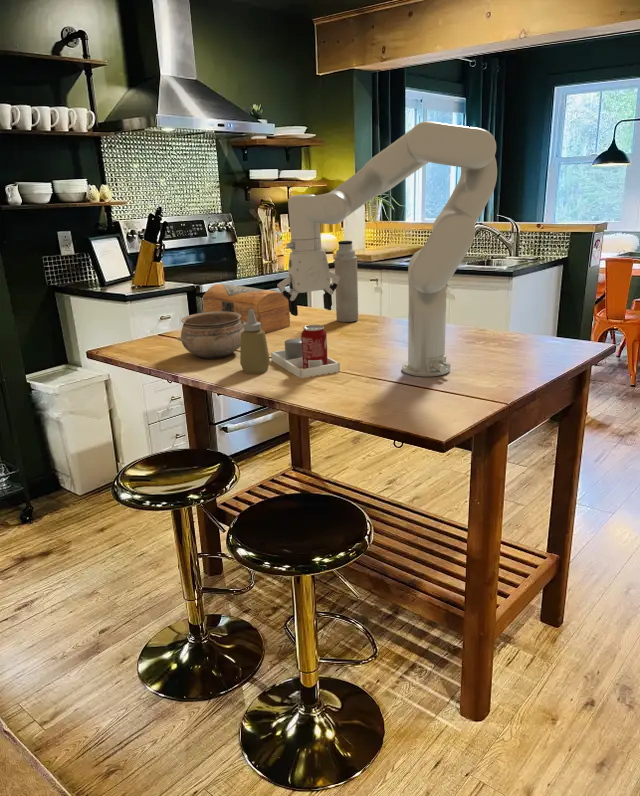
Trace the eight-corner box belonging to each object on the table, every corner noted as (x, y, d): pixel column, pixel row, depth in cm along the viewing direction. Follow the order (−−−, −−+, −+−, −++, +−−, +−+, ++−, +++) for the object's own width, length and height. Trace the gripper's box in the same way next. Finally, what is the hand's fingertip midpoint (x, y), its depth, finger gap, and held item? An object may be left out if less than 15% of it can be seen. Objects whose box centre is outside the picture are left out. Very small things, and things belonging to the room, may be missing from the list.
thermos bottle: (345, 315, 237) (343, 239, 227) (362, 318, 232) (361, 240, 222) (332, 320, 231) (329, 241, 221) (349, 322, 226) (346, 242, 216)
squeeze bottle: (274, 370, 176) (269, 306, 170) (266, 379, 169) (261, 313, 163) (246, 369, 178) (241, 306, 172) (237, 378, 171) (231, 313, 164)
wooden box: (201, 325, 233) (197, 287, 228) (235, 316, 244) (232, 280, 239) (256, 337, 213) (253, 296, 209) (291, 327, 225) (288, 288, 220)
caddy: (340, 375, 170) (339, 350, 167) (300, 383, 165) (299, 357, 163) (308, 357, 187) (307, 334, 185) (271, 363, 183) (270, 340, 180)
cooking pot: (226, 343, 206) (222, 306, 202) (266, 352, 194) (263, 313, 190) (162, 362, 188) (157, 322, 184) (202, 373, 177) (197, 330, 172)
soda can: (324, 374, 168) (323, 330, 164) (300, 373, 169) (297, 330, 165) (330, 367, 174) (328, 324, 170) (306, 366, 175) (304, 324, 171)
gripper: (280, 250, 154) (286, 319, 159) (343, 243, 160) (347, 309, 166) (269, 248, 160) (275, 314, 166) (330, 241, 167) (334, 305, 172)
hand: (311, 312), depth 166 cm, fingers open, 9 cm apart
